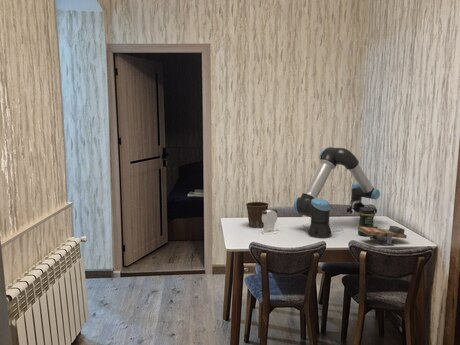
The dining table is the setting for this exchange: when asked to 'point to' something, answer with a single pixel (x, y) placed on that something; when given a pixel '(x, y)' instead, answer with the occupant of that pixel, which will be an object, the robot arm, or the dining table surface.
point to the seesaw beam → (384, 231)
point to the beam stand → (383, 239)
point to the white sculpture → (269, 221)
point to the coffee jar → (366, 218)
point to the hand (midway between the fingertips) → (364, 213)
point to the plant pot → (256, 213)
